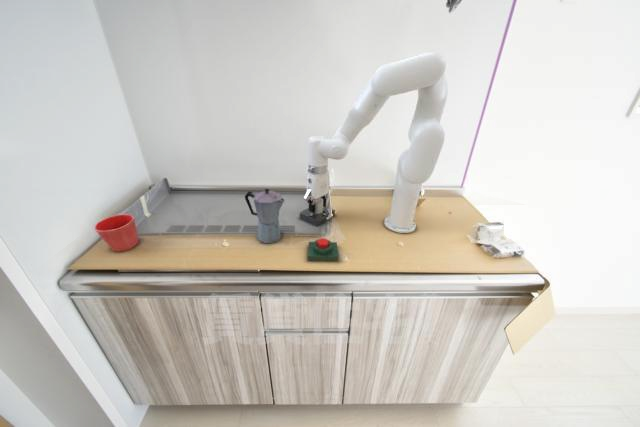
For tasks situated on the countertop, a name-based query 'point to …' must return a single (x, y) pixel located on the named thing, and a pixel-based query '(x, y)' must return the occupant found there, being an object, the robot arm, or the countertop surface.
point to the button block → (323, 252)
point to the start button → (322, 243)
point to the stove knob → (318, 205)
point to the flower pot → (118, 232)
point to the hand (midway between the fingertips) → (317, 208)
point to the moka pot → (267, 214)
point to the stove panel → (315, 216)
